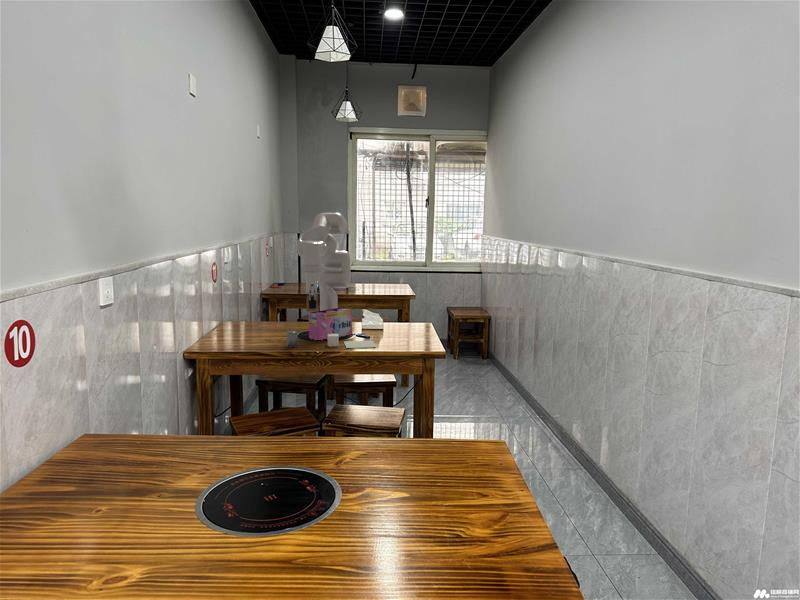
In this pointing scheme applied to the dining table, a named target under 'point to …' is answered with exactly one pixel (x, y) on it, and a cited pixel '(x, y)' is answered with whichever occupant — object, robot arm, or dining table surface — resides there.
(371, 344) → the sage mat
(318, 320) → the gum box
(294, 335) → the metal tin
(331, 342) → the grey block
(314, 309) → the walnut block
